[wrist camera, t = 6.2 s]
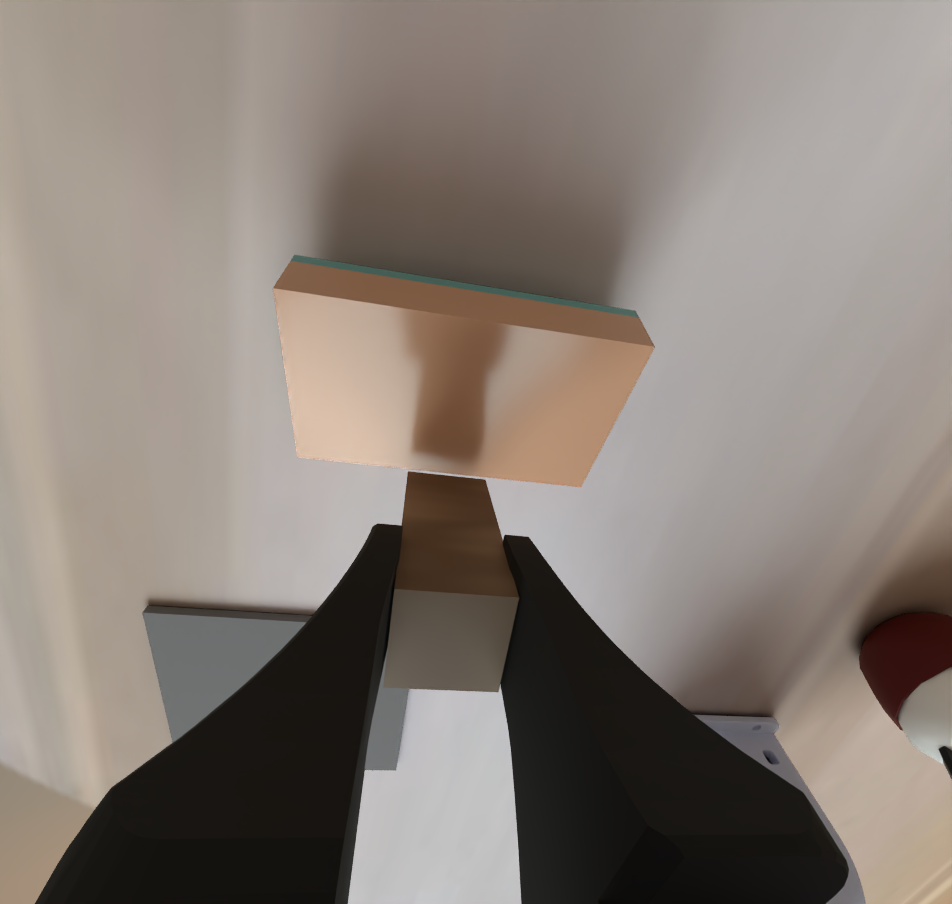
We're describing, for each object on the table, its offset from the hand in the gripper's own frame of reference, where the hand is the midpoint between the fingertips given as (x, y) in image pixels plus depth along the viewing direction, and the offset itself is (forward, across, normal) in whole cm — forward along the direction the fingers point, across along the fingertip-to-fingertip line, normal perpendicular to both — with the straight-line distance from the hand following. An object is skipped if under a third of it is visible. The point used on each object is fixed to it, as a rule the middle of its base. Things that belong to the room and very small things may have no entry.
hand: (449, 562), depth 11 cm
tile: (+6, 0, 0) cm, 6 cm away
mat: (+7, +6, +16) cm, 18 cm away
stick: (+4, 0, +1) cm, 4 cm away
